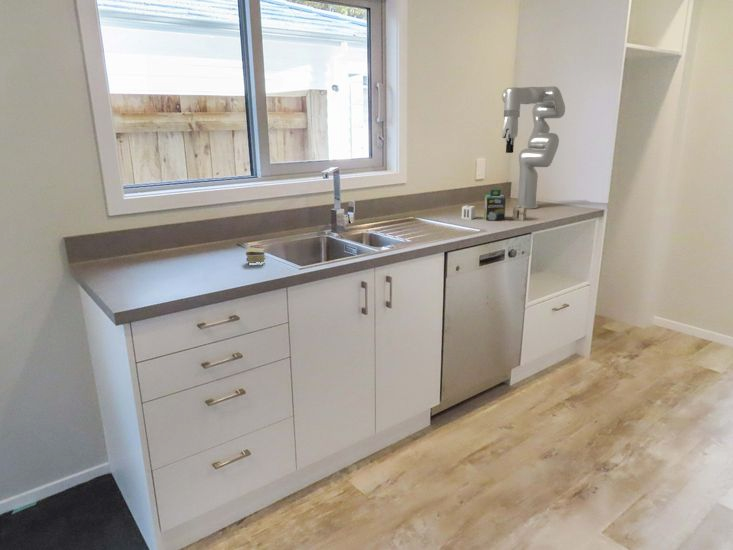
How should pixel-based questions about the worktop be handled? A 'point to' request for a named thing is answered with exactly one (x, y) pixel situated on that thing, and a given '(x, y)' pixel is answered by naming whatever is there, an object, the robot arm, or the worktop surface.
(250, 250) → the stacked layers on plate
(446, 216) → the worktop surface
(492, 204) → the green boxy container
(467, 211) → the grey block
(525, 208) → the birch block
